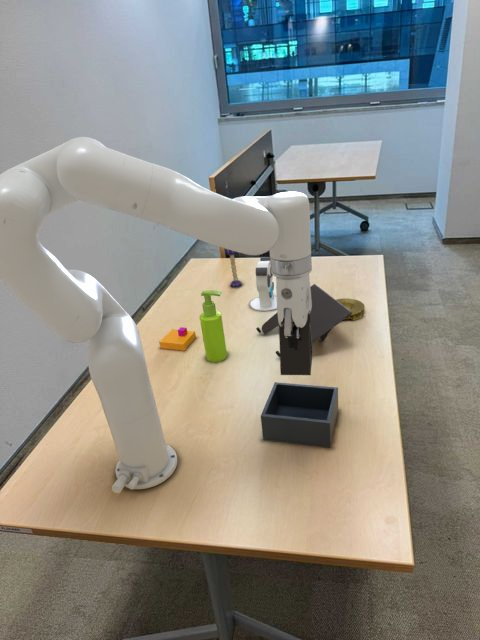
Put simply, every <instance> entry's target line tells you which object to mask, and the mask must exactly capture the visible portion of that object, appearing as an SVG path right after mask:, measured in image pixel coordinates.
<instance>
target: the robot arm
mask: <svg viewBox="0 0 480 640" xmlns="http://www.w3.org/2000/svg"><path fill="white" fill-rule="evenodd" d="M77 201H81V202H83V203H87V204H90V205H93V206H97V207H101V208H103V209H106V210H110V211H115V212H117V213H121V214H124V215H127V216H132V217H135V218H139V219H141V220H146V221H148V222H152V223H155V224H157V225H161V226H163V227H166V228H167V229H169V230H172V231H174V232H177V233H180V234H183V235H186V236H189V237H191V238H193V239H196V240H199V241H202V242H203V243H207V244H209V245H212V246H216V247H218V248H222V249H229V250H232V251H236V252H237V253H239V254H243V255H248V256H259V255H264V254H266V253H268V252H269V257H270V263H271V273H272V275H273V276H272V277H275V278H276V279H275V284H276V285H275V286H276V287H275V288H276V289H275V291H276V293H275V294H276V296H277V309H276V311H277V312H276V313H277V314H278V322H279V325H280V326H281V327H283V325H284V336H285V338H288V341H289V348H294V350H297V340H300V341H301V337H300V328H302V327H304V326H305V324H306V322H307V317H308V313H309V314H310V312H311V308H312V300H311V288H310V287H311V277H310V274H311V273H312V271H313V267H312V266H313V265H312V240H311V239H312V238H311V237H312V236H311V234H312V233H311V211H310V210H311V209H310V200H309V197H308V196H307V195H306V194H305V193H302V192H300V191H299V192H298V191H284V192H283V191H282V192H278V193H275V194H272V195H266V196H238V197H237V196H236V197H234V198H229V197H227V196H224V195H222V194H219V193H216V192H214V191H213V190H210V189H208V188H205V187H204V186H202V185H200V184H198V183H197V182H195V181H193V180H191V178H189V177H187V176H186V175H184V174H181V173H180V172H178V171H176V170H173V169H171V168H168V167H165V166H162V165H160V164H156V163H153V162H149V161H148V160H144V159H141V158H138V157H136V156H132V155H129V154H127V153H124V152H121V151H118V150H116V149H112V148H110V147H106V146H105V145H104V144H103V143H102V142H101V141H99V140H97V139H95V138H92V137H89V136H77V137H74V138H72V139H69V140H67V141H66V142H64V143H61V144H60V145H58V146H55V147H54V148H52V149H50V150H48V151H45V152H43V153H40V154H39V155H37V156H35V157H32V158H30V159H28V160H25V161H24V162H21V163H19V164H17V165H15V166H13V167H11V168H8V169H6V170H5V171H3V172H2V173H0V283H2V284H3V285H4V286H5V287H6V288H7V289H8V290H9V291H10V292H11V293H12V294H13V295H14V296H15V297H17V299H18V300H19V301H20V302H21V303H22V304H23V305H24V306H26V308H27V309H28V310H29V311H31V312H32V313H33V315H34V316H35V317H37V318H38V319H39V320H40V321H41V322H42V323H43V324H44V325H45V326H46V327H47V328H48V329H49V330H50V331H51V332H52V333H53V334H54V335H56V336H57V337H58V338H60V339H61V340H64V341H65V342H68V343H74V344H81V343H84V342H87V365H88V371H89V376H90V379H91V381H92V384H93V386H94V389H95V391H96V393H97V395H98V398H99V401H100V403H101V407H102V410H103V413H104V416H105V418H106V421H107V426H108V428H109V431H110V434H111V438H112V441H113V443H114V447H115V450H116V453H117V457H118V459H119V460H117V463H116V465H115V469H114V470H115V477H116V480H115V482H114V483H113V484H112V486H111V491H112V492H113V493H115V494H121V492H122V491H123V489H124V488H127V489H129V490H146V489H150V488H153V487H156V486H158V485H160V484H162V483H163V482H165V481H167V480H168V479H169V478H170V477H171V476H172V475H173V474H174V472H175V470H176V468H177V466H178V455H177V453H176V451H175V450H174V448H173V447H171V446H170V445H168V444H167V443H166V439H165V433H164V431H163V427H162V422H161V419H160V414H159V410H158V407H157V403H156V399H155V395H154V391H153V386H152V383H151V379H150V374H149V371H148V370H149V369H148V365H147V361H146V357H145V353H144V348H143V343H142V339H141V335H140V330H139V328H138V326H137V323H136V322H135V320H134V319H133V318H132V317H131V315H130V314H129V313H128V312H127V311H126V310H125V309H124V308H123V306H121V304H120V303H119V302H118V301H117V300H116V299H115V298H114V296H113V295H111V293H109V291H108V290H107V289H106V287H105V286H104V285H103V284H102V283H101V282H100V281H98V279H96V278H95V277H94V276H92V275H91V274H89V273H87V272H85V271H82V270H79V269H67V268H66V267H65V266H64V265H63V264H62V263H61V261H60V260H59V259H58V258H57V257H56V256H55V255H54V254H53V253H51V252H50V251H49V250H48V249H47V248H45V247H44V246H43V244H42V243H41V241H40V240H39V239H40V238H39V234H40V231H42V228H43V226H44V225H45V223H46V221H47V218H48V216H49V215H51V214H53V213H55V212H57V211H59V210H61V209H63V208H65V207H67V206H69V205H71V204H74V203H76V202H77ZM309 310H310V312H309ZM292 327H296V331H295V330H294V329H292Z"/></svg>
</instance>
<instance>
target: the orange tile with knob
mask: <svg viewBox="0 0 480 640" xmlns="http://www.w3.org/2000/svg"><path fill="white" fill-rule="evenodd" d="M195 339H197V335H196V331H195V330H194V331H193V330H188V329H187V327H182V326H181V327H179V328H178V329H173V328H172V329H171V330H170V331H169V332H168V333H166V334H165V336H164V337H163V338H161V340H159V341H158V343H159V347H160V349H163V350H164V349H165V350H172V351H182V352H185V351H186V350H187V348H188V347H189V346H190V345H191V344H192V343H193V342H194V341H195Z"/></svg>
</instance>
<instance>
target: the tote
mask: <svg viewBox="0 0 480 640" xmlns="http://www.w3.org/2000/svg"><path fill="white" fill-rule="evenodd" d="M338 413H339V387H336V386H325V385H312V384H302V383H288V382H280V381H279V382H277V381H274V383H273V385H272V388H271V390H270V392H269V394H268V397H267V399H266V402H265V405H264V406H263V409H262V412H261V414H260V423H261V424H260V425H261V434H262V441H270V442H277V443H287V444H294V445H302V446H303V445H304V446H312V447H319V448H320V447H321V448H329V449H330V448H331V446H332V441H333V437H334V432H335V429H336V423H337V419H338V418H337V417H338Z"/></svg>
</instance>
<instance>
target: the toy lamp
mask: <svg viewBox="0 0 480 640" xmlns="http://www.w3.org/2000/svg"><path fill="white" fill-rule="evenodd" d="M224 249H225V248H224ZM224 254H225V255H228V256H229V260H230V267H231V273H232V279H233V280H232V281H231V283H230V287H231V288H234V289H235V288H240V287H242V285H243V284H242V281H241V280H239V278H238V273H237V266H236V261H235V260H236V258H235V255H236V254H238V252H236V251H232V250H229V249H225V250H224Z"/></svg>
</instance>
